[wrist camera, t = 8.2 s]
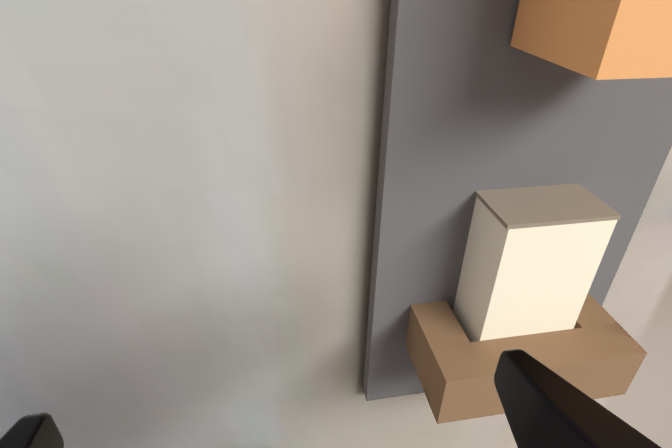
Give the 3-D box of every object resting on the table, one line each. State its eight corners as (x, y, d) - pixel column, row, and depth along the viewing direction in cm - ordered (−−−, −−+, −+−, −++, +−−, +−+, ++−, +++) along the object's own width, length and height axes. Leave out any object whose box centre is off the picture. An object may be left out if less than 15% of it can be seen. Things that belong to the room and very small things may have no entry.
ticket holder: (564, 358, 31) (627, 440, 26) (362, 387, 28) (388, 483, 23) (826, -278, 15) (1129, -390, 10) (414, -326, 12) (530, -503, 7)
